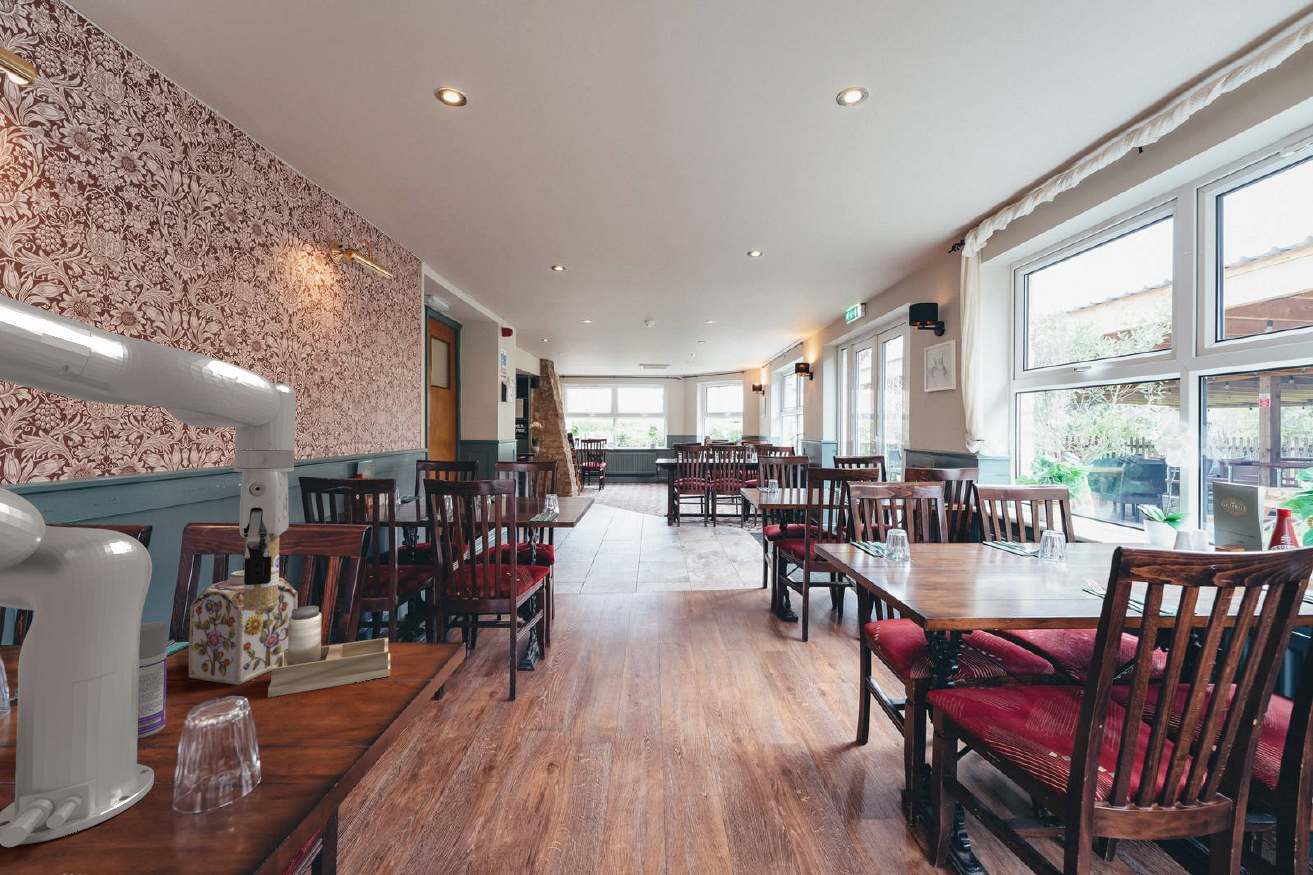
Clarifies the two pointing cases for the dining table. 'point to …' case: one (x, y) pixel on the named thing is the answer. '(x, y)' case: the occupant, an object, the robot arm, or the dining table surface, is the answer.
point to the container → (152, 678)
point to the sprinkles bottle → (264, 593)
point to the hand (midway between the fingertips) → (261, 579)
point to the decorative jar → (237, 632)
